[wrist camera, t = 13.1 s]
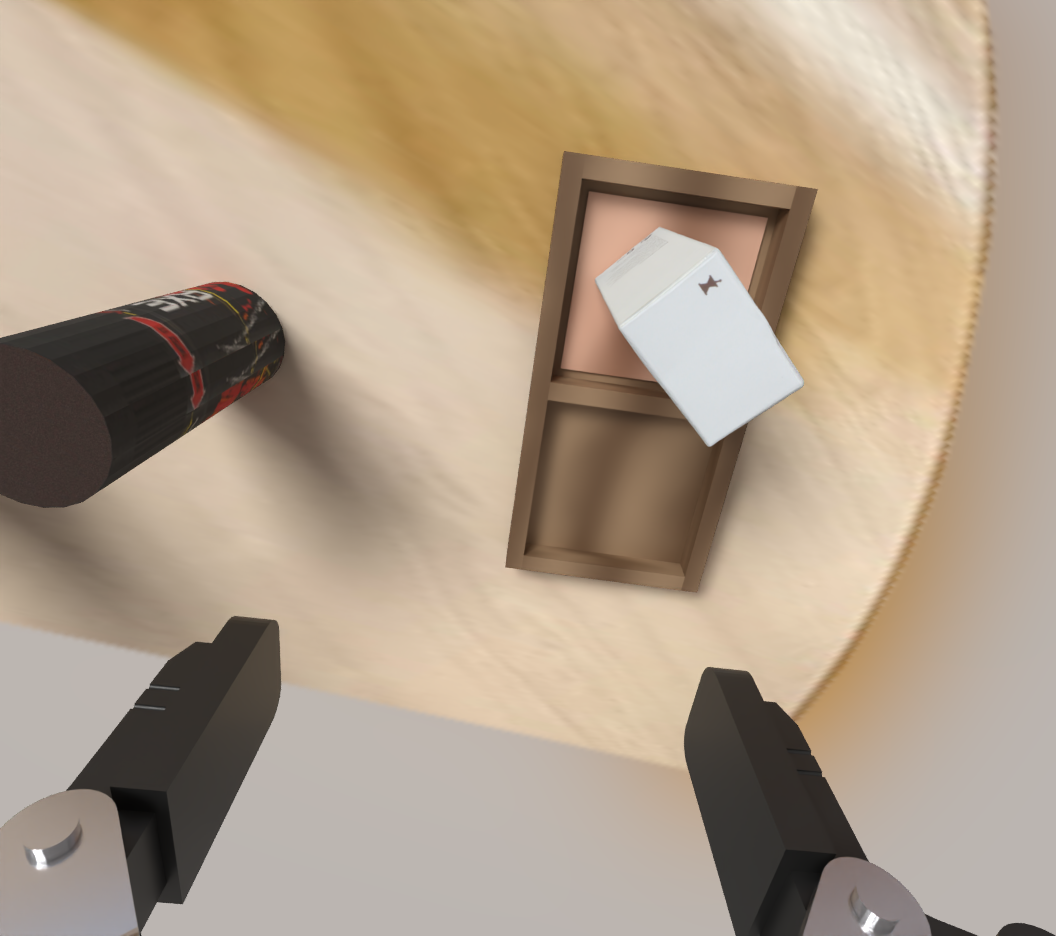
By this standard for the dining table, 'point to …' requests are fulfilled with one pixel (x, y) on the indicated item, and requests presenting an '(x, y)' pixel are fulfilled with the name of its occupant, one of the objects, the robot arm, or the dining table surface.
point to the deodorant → (125, 386)
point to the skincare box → (698, 332)
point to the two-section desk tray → (633, 377)
